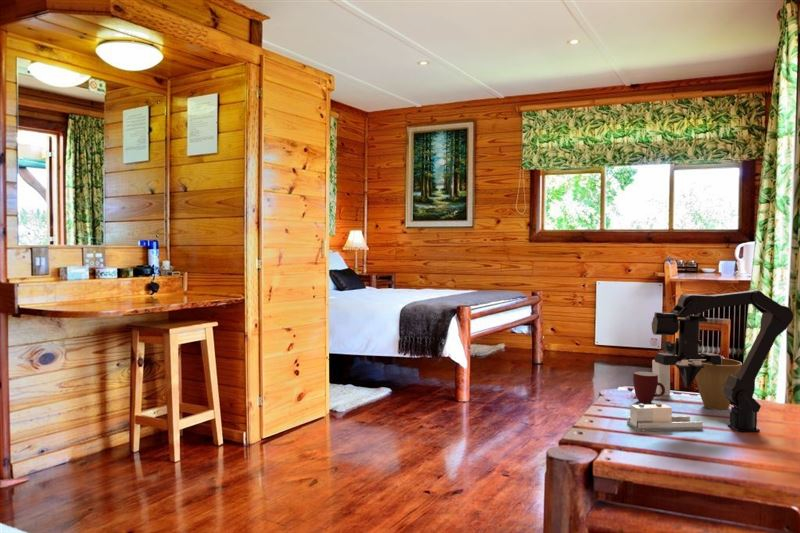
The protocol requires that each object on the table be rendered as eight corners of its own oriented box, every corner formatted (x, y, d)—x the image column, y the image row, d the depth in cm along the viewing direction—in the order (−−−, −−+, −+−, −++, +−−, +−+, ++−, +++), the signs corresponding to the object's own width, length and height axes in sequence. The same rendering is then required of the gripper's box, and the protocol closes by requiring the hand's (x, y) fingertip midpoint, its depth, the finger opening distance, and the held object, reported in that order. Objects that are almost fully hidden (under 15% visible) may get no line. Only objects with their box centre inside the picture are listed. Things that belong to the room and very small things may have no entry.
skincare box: (670, 395, 233) (671, 362, 232) (658, 395, 232) (659, 362, 232) (662, 391, 239) (663, 359, 238) (651, 391, 238) (652, 359, 238)
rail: (687, 422, 196) (688, 400, 196) (702, 429, 188) (703, 406, 188) (626, 423, 193) (627, 401, 193) (639, 431, 186) (640, 407, 186)
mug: (666, 402, 222) (667, 373, 222) (663, 407, 215) (664, 377, 215) (634, 398, 227) (635, 370, 227) (630, 402, 220) (631, 374, 220)
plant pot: (686, 401, 224) (687, 356, 224) (730, 403, 222) (732, 357, 222) (700, 411, 209) (701, 363, 209) (747, 414, 207) (749, 365, 207)
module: (663, 422, 193) (664, 402, 193) (671, 425, 189) (671, 405, 189) (645, 422, 192) (646, 402, 192) (652, 426, 188) (653, 405, 188)
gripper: (701, 332, 200) (699, 381, 201) (646, 332, 198) (644, 381, 198) (723, 337, 189) (722, 389, 190) (665, 337, 187) (663, 389, 187)
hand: (687, 387), depth 191 cm, fingers closed
